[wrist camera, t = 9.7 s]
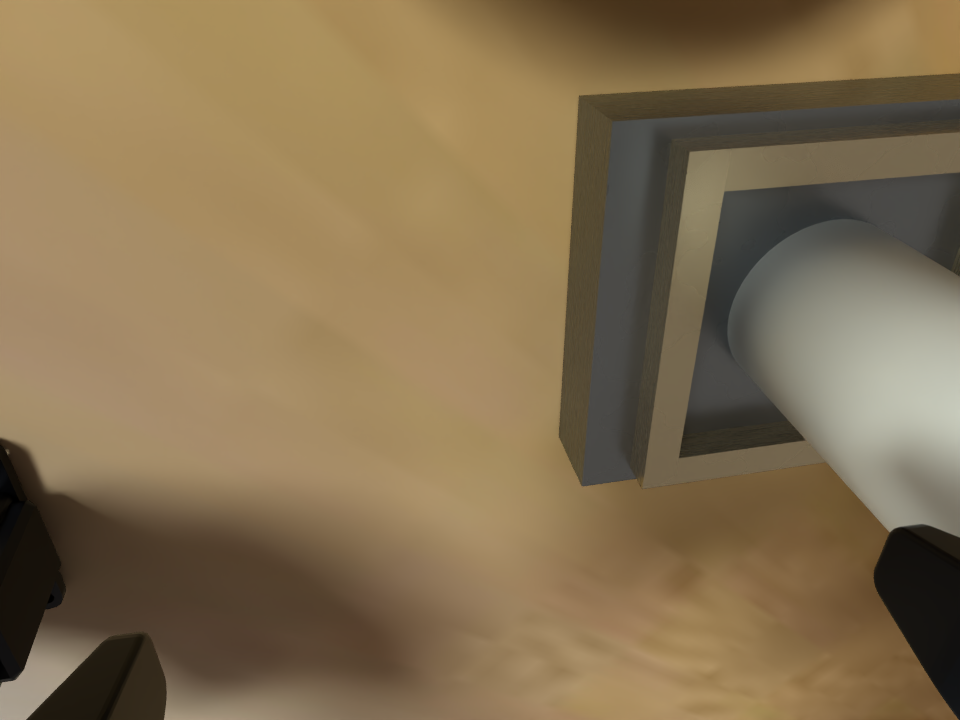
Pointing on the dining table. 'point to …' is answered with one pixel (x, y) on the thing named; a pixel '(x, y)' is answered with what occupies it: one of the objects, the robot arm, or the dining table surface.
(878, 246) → the white canister
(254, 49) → the dining table surface
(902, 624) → the robot arm
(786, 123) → the grey rectangular tray
